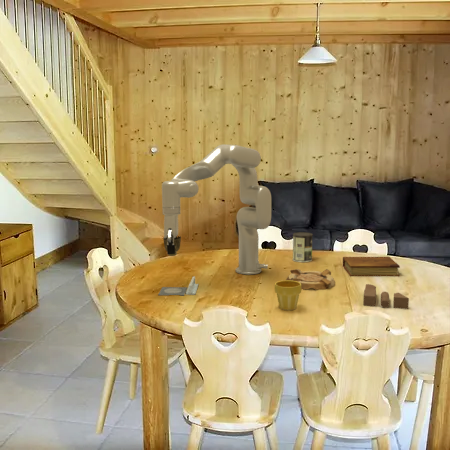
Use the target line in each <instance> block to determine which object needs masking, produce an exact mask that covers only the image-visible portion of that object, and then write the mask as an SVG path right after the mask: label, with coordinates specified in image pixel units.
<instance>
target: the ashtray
mask: <svg viewBox="0 0 450 450" xmlns="http://www.w3.org/2000/svg"><path fill="white" fill-rule="evenodd" d="M286 280H291V281H297V282H300V283H301V290H302V289H303V291H304V290H310V289H314V290H315V291H321V290H322V291H324V290H328V289H332V288H334V287H335V286H336V280H335V279H334V277H333V276H332V271H331V270H330V269H328V268H327V269H324V270H323V271H318V270H306V271H305V270H304V271H303V270H301V269H298V268H296V269H291V270H290V274H289V275H288V276H287V277H286Z"/></svg>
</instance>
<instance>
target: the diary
mask: <svg viewBox="0 0 450 450" xmlns="http://www.w3.org/2000/svg"><path fill="white" fill-rule="evenodd" d="M342 267H343V269H344V270H345V272H346V273H347V274H348V275H349V277H400V275H399V273H398V271H399V268H400V264H398V263H397V262H396V261H395V260H394V259H392V258H391V257H390V256H343V257H342Z"/></svg>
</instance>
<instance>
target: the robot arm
mask: <svg viewBox="0 0 450 450" xmlns="http://www.w3.org/2000/svg"><path fill="white" fill-rule="evenodd" d="M261 160H262V156H261V153H260V152H259V151H258V150H257V149H255V148H251V147H246V146H242V145H237V144H226V143H225V144H223V143H222V144H219V145H217V146H216V147H215V148H213V150H211V151H210V152H209V153H208V154H207V155H205V156H204V157H203V158H202V159H201V160H200V161H198V162H196V163H194V164H191V165H190V166H188V167H185V168H184V169H182V170H181V171H179V172H178V173H177V174H176V175H175V176H173V178H171V180H165V181H163V182H162V183H161V199H162V200H161V203H162V205H161V208H162V215H164V217H163V219H164V220H163V221H164V222H163V238H167V236H168V238H167V251H166V253H167V255H168V254H175V245H174V238H176V237H178V235H179V216H180V215H181V198H187V199H188V198H193V197H196V195H197V194H198V192H199V185H198V183H197V181H202V180H206V179H209V178H212V177H214V176H215V175H216V174H217V173H218V172H219V171H220V170H221V169H222V168H223V167H224V166H226V165H231V166H233V168H235V170H236V172H237V173H238V177H239V200H240V202H241V203H242V204H245V205H249V206H243V207H241V208H240V209H238V211H237V212H236V223H237V228H238V267H236V268H235V273H237V274H239V275H240V274H241V275H246V276H247V275H250V276H251V275H257V274H260V273H261V272H262V269H268V268H269V267H268V265H269V264H266V263H260V260H259V232H258V229H259V230H266V229H267V228H269V226H270V225H271V222H272V221H271V220H272V193H271V190H270V189H269V188H268V187H267V186H263V185H259V183H258V173H257V170H256V168H257V167H258V166H259V165H260V163H261ZM251 206H255V207H251ZM171 237H173V238H171ZM171 239H173V240H171Z"/></svg>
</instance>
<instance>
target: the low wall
mask: <svg viewBox="0 0 450 450" xmlns="http://www.w3.org/2000/svg"><path fill="white" fill-rule="evenodd" d="M198 288H199V283H196V276H192V278H191V280H190V282H189V284H188V287H187V290H186V292H185V295H186V296H187V295H189V296H191V295H192V296H193V295H197V291H198Z"/></svg>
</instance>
